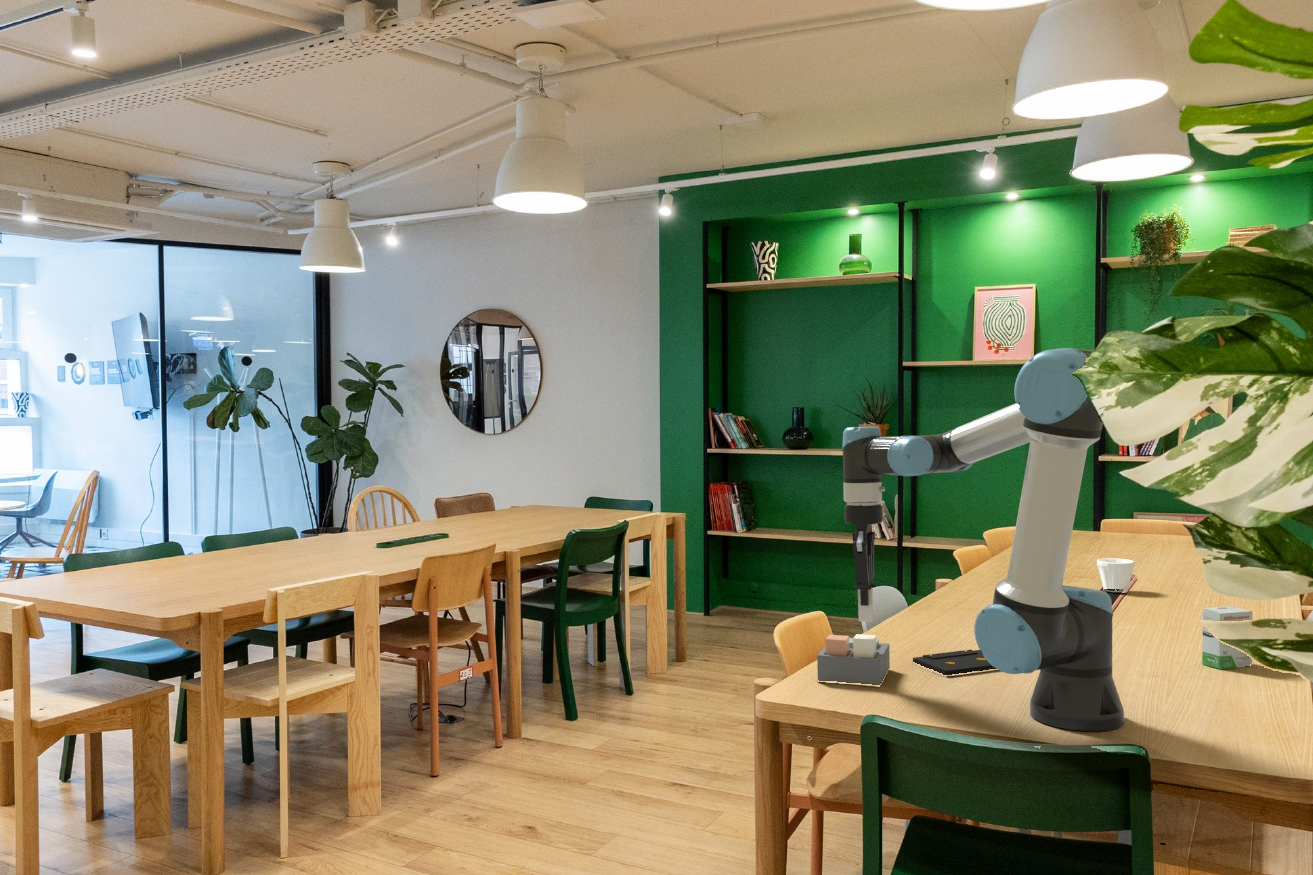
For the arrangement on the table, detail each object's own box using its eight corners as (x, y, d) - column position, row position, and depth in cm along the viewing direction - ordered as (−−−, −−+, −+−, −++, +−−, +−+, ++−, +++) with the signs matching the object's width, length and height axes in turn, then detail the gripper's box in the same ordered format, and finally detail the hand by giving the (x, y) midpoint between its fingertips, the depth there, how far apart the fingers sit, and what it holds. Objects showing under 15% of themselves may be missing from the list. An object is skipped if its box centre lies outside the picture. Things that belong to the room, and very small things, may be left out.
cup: (1089, 590, 290) (1089, 559, 289) (1116, 588, 293) (1116, 557, 292) (1114, 596, 280) (1114, 564, 280) (1142, 593, 283) (1142, 562, 283)
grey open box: (880, 687, 192) (879, 654, 192) (817, 682, 197) (817, 650, 197) (889, 669, 206) (889, 638, 205) (830, 665, 210) (830, 635, 210)
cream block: (873, 669, 194) (873, 639, 194) (853, 668, 196) (853, 638, 196) (876, 664, 198) (876, 635, 198) (856, 663, 199) (856, 633, 199)
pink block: (846, 669, 196) (845, 640, 196) (826, 668, 198) (825, 638, 198) (849, 665, 200) (849, 635, 200) (829, 663, 201) (829, 634, 201)
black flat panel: (981, 658, 216) (981, 648, 216) (1017, 670, 205) (1017, 660, 205) (912, 666, 210) (912, 656, 210) (945, 679, 199) (945, 669, 199)
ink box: (1220, 670, 201) (1219, 612, 201) (1200, 664, 206) (1200, 608, 205) (1254, 666, 203) (1253, 609, 203) (1234, 660, 208) (1234, 605, 208)
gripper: (877, 506, 189) (880, 628, 189) (886, 500, 201) (889, 615, 201) (838, 506, 191) (841, 626, 192) (849, 500, 204) (852, 613, 204)
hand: (866, 620), depth 196 cm, fingers closed
